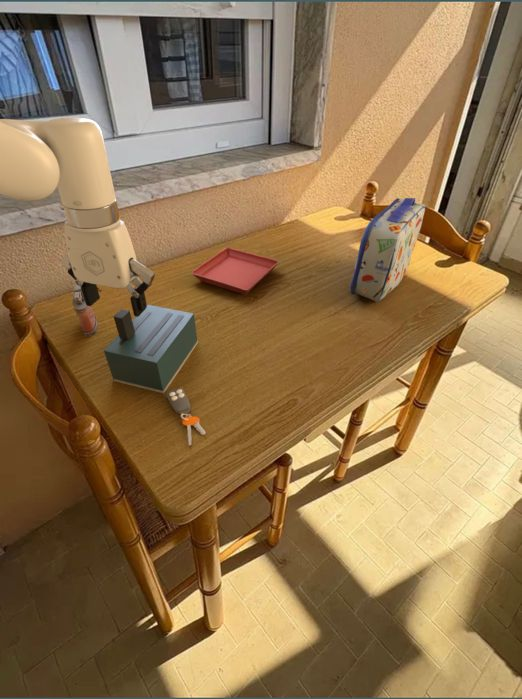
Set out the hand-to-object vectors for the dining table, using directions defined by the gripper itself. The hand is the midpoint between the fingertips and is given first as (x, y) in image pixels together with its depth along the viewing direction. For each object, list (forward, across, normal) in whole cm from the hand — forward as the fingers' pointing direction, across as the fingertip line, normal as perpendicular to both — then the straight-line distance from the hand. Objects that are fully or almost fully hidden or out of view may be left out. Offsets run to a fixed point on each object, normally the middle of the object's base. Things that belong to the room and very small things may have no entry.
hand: (116, 307), depth 69 cm
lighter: (+15, -17, +10) cm, 25 cm away
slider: (+7, 0, +1) cm, 7 cm away
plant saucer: (+14, +8, +42) cm, 45 cm away
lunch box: (+14, +47, +51) cm, 70 cm away
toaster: (+15, +4, +4) cm, 16 cm away
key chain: (+15, +16, -8) cm, 24 cm away
